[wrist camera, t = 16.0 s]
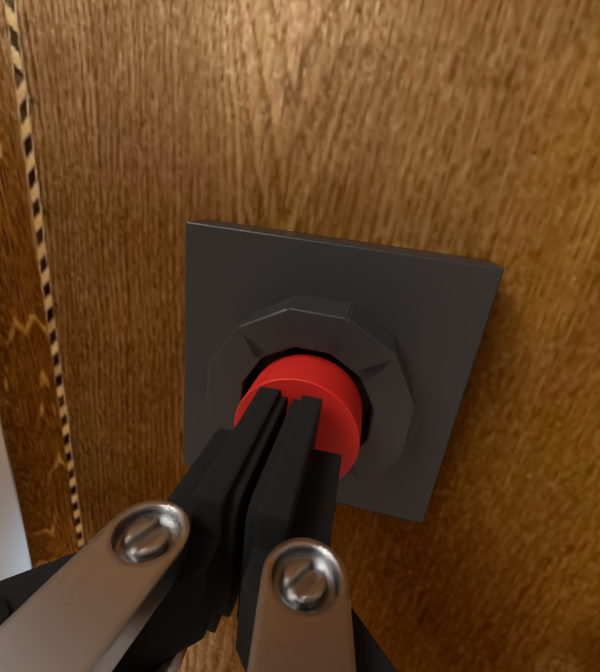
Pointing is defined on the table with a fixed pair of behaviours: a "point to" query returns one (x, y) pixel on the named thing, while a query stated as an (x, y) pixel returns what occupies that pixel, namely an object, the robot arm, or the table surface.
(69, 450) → the table surface
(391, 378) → the dark grey mounting base
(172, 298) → the table surface
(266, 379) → the button
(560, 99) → the table surface
